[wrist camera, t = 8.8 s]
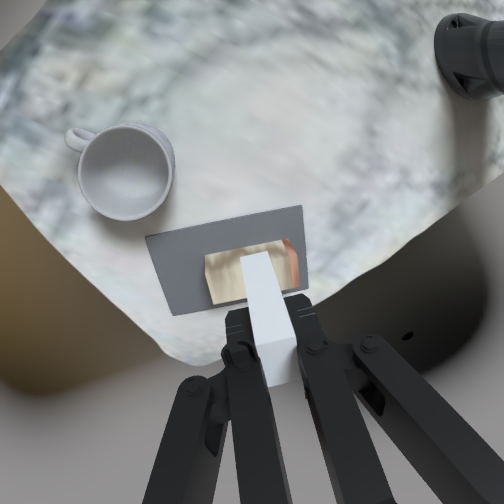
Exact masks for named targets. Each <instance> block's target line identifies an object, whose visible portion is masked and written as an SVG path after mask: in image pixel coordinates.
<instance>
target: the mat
mask: <svg viewBox="0 0 504 504" xmlns="http://www.w3.org/2000/svg"><path fill="white" fill-rule="evenodd" d="M283 239H289V241H290V243H291V245H292V247H293V248H294V250H295V252H296V254H297V258H298V269H299V281H300V287H296V288H291V289H287V290H282V291H281V293H282V294H285V293H290V292H294V291H299V290H303V289H308V288H309V287H308V272H307V258H306V246H305V234H304V222H303V211H302V205H299V206H293V207H288V208H282V209H277V210H272V211H266V212H261V213H256V214H251V215H246V216H241V217H236V218H231V219H226V220H221V221H216V222H211V223H206V224H202V225H197V226H192V227H188V228H183V229H178V230H174V231H169V232H165V233H160V234H156V235H151V236H147V237H145V240H146V243H147V246H148V249H149V252H150V255H151V258H152V261H153V264H154V266H155V269H156V272H157V275H158V278H159V280H160V283H161V286H162V289H163V291H164V294H165V297H166V299H167V302H168V305H169V307H170V310H171V312H172V315H173V316H175V315H180V314H186V313H191V312H197V311H202V310H207V309H212V308H218V307H223V306H228V305H233V304H238V303H243V302H248V301H247V298H244V299H239V300H234V301H229V302H224V303H219V304H213V301H212V297H211V294H210V290H209V287H208V283H207V279H206V276H205V255H208V254H213V253H218V252H223V251H228V250H233V249H238V248H243V247H248V246H253V245H258V244H263V243H268V242H273V241H278V240H283Z"/></svg>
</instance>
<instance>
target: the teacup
mask: <svg viewBox="0 0 504 504" xmlns="http://www.w3.org/2000/svg"><path fill="white" fill-rule="evenodd" d="M64 141H65V144H66V145H67V146H68V147H69V148H71V149H73V150H75V151H77V152H80V153H82V154H81V157H80V160H79V166H78V181H79V185H80V189H81V191H82V193H83V195H84V197H85V199H86V200H87V202H88V203H89V204H90V205H91V206H92V207H93V208H94V209H95V210H96V211H97V212H99V213H100V214H102V215H104V216H105V217H108V218H111V219H114V220H120V221H132V220H137V219H141V218H143V217H145V216H147V215H149V214H151V213H152V212H153V211H155V210H156V209H157V208H158V207H159V206H160V205H161V204H162V203H163V202H164V200H165V198H166V197H167V195H168V193H169V191H170V188H171V184H172V178H173V175H174V169H175V155H174V151H173V148H172V145H171V143H170V141H169V140H168V138H167V137H166V135H165V134H164V133H163V132H162V131H161V130H159V129H158V128H157V127H155V126H153V125H151V124H149V123H146V122H141V121H127V122H123V123H119V124H117V125H114V126H111V127H108V128H106V129H104V130H102V131H100V132H99V133H97V134H93V133H91V132H88V131H85V130H82V129H79V128H71V129H69V130H68V131H67V133H66V135H65V138H64Z"/></svg>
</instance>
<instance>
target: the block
mask: <svg viewBox="0 0 504 504" xmlns="http://www.w3.org/2000/svg"><path fill="white" fill-rule="evenodd" d="M264 251H268V254H269V257H270V260H271V263H272V266H273V269H274V272H275V275H276V278H277V281H278V284H279V287H280V290H281V291H282V290H287V289H291V288H296V287H300V281H299V269H298V258H297V254H296V252H295V250H294V248H293V247H292V245H291V243H290V241H289V239H283V240H278V241H273V242H268V243H263V244H258V245H253V246H248V247H243V248H238V249H233V250H228V251H223V252H218V253H213V254H208V255H205V276H206V279H207V283H208V287H209V290H210V294H211V297H212V301H213V304H219V303H224V302H229V301H234V300H239V299H244V298H247V295H246V290H245V284H244V278H243V272H242V266H241V261H240V257H243V256H247V255H252V254H256V253H260V252H264Z"/></svg>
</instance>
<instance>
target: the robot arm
mask: <svg viewBox="0 0 504 504" xmlns="http://www.w3.org/2000/svg"><path fill="white" fill-rule="evenodd" d="M435 51H436V57H437V61H438V64H439V67H440V69H441V71H442V74H443V75H444V77H445V79H446V81H447V82H448V83H449V85H450V86H451V87H452V88H453V89H454V90H455V91H456V92H457V93H458V94H460V95H461V96H463V97H466V98H469V99H475V100H486V99H489V98H493V97H497V96H501V95H504V21H489V20H486V19H483V18H480V17H477V16H473V15H470V14H466V13H457V14H451V15H448V16H446V17H444V18H443V19H442V20H441V21H440V23H439V24H438V27H437V29H436V34H435ZM240 261H241V266H242V272H243V278H244V284H245V290H246V295H247V301H248V307H246V308H241V309H237V310H232V311H229V312H228V314H227V316H226V318H225V325H226V338H227V344H226V345H225V346H224V347H223V349H222V351H221V357H222V359H223V362H224V364H225V368H224V369H223V370H222V371H221V372H220V373H218V374H217V375H215V376H213V377H210V378H208V379H207V378H205V377H203V376H192V377H189V378H187V379H185V380H184V381H183V382H182V383H181V384H180V386H179V388H178V391H177V394H176V397H175V400H174V403H173V406H172V409H171V412H170V415H169V418H168V422H167V424H166V428H165V431H164V434H163V437H162V440H161V443H160V447H159V450H158V453H157V456H156V459H155V463H154V466H153V469H152V472H151V476H150V479H149V482H148V485H147V489H146V492H145V496H144V499H143V502H142V504H212V502H213V498H214V492H215V488H216V482H217V478H218V472H219V467H220V462H221V457H222V452H223V446H224V442H225V437H226V432H227V426H228V421H230V420H231V423H232V433H233V443H234V452H235V461H236V469H237V478H238V486H239V495H240V503H241V504H293V503H292V498H291V494H290V489H289V484H288V480H287V475H286V470H285V465H284V461H283V456H282V452H281V446H280V442H279V437H278V432H277V427H276V423H275V418H274V413H273V408H272V403H271V398H270V394H269V391H268V387H272V386H276V385H280V384H285V383H289V382H293V381H297V380H301V379H303V383H304V390H305V398H306V399H307V400H308V404H309V407H310V410H311V414H312V418H313V421H314V424H315V428H316V431H317V434H318V438H319V442H320V445H321V449H322V452H323V456H324V459H325V463H326V466H327V470H328V473H329V477H330V481H331V484H332V488H333V491H334V495H335V498H336V502H337V504H397V503H396V502H395V500H394V498H393V495H392V492H391V490H390V487H389V484H388V481H387V479H386V476H385V474H384V471H383V468H382V466H381V463H380V460H379V458H378V455H377V452H376V450H375V447H374V445H373V442H372V440H371V437H370V435H369V432H368V430H367V427H366V424H365V422H364V419H363V417H362V414H361V412H360V409H359V407H358V404H357V402H356V400H355V397H354V395H353V392H354V394H355V395H356V396H357V398H358V399H359V400H360V401H361V403H362V404H363V405H364V406H365V408H366V409H367V410H368V411H369V412H370V414H371V415H372V416H373V418H374V419H375V420H376V421H377V423H378V424H379V425H380V426H381V427H382V428H383V430H384V431H385V432H386V434H387V435H388V436H389V437H390V438H391V440H392V441H393V443H394V444H395V445H396V446H397V447H398V449H399V450H400V451H401V452H402V453H403V455H404V456H405V457H406V459H407V460H408V461H409V462H410V464H411V465H412V466H413V467H414V468H415V470H416V471H417V472H418V474H419V475H420V476H421V477H422V478H423V480H424V481H425V482H426V483H427V485H428V486H429V487H430V488H431V490H432V491H433V492H434V493H435V494H436V496H437V497H438V498H439V499H440V501H441V502H442V503H443V504H504V461H503V460H502V459H501V458H500V457H499V456H498V455H497V453H495V451H494V450H493V449H492V448H491V447H490V446H489V445H488V444H487V443H486V442H485V441H484V440H483V439H482V438H481V437H480V436H479V434H478V433H477V432H476V431H475V430H474V429H473V428H472V427H471V426H470V425H469V424H468V423H467V422H466V421H465V420H464V419H463V418H462V417H461V416H460V415H459V414H458V413H457V412H456V411H455V410H454V409H453V408H452V407H451V406H450V405H449V404H448V402H446V400H445V399H444V398H443V397H441V396H440V394H439V393H438V392H437V391H436V390H435V389H434V388H433V387H432V386H431V385H430V384H429V383H428V382H427V381H426V380H425V379H424V378H422V376H421V375H420V374H419V373H418V372H417V371H416V370H415V369H414V368H413V367H411V365H410V364H408V362H407V361H405V360H404V359H403V358H402V357H401V356H400V355H399V354H398V353H397V352H396V351H395V350H394V349H393V348H392V347H391V346H390V345H389V344H388V343H387V342H386V341H385V340H384V339H383V338H382V337H380V336H378V335H375V334H365V335H362V336H360V337H358V338H357V339H356V340H355V342H354V344H338V343H335V342H332V341H330V340H329V339H328V338H327V337H326V336H325V334H324V331H323V329H322V327H321V324H320V323H319V320H318V317H317V315H316V314H315V311H314V308H313V306H312V304H311V301H310V299H309V298H308V297H306V296H305V295H304V294H302V293H301V294H297V295H293V296H289V297H285V298H283V296H282V293H281V290H280V287H279V284H278V281H277V278H276V275H275V272H274V269H273V266H272V263H271V260H270V257H269V254H268V251H264V252H260V253H256V254H252V255H247V256H243V257H240ZM352 391H353V392H352Z"/></svg>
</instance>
